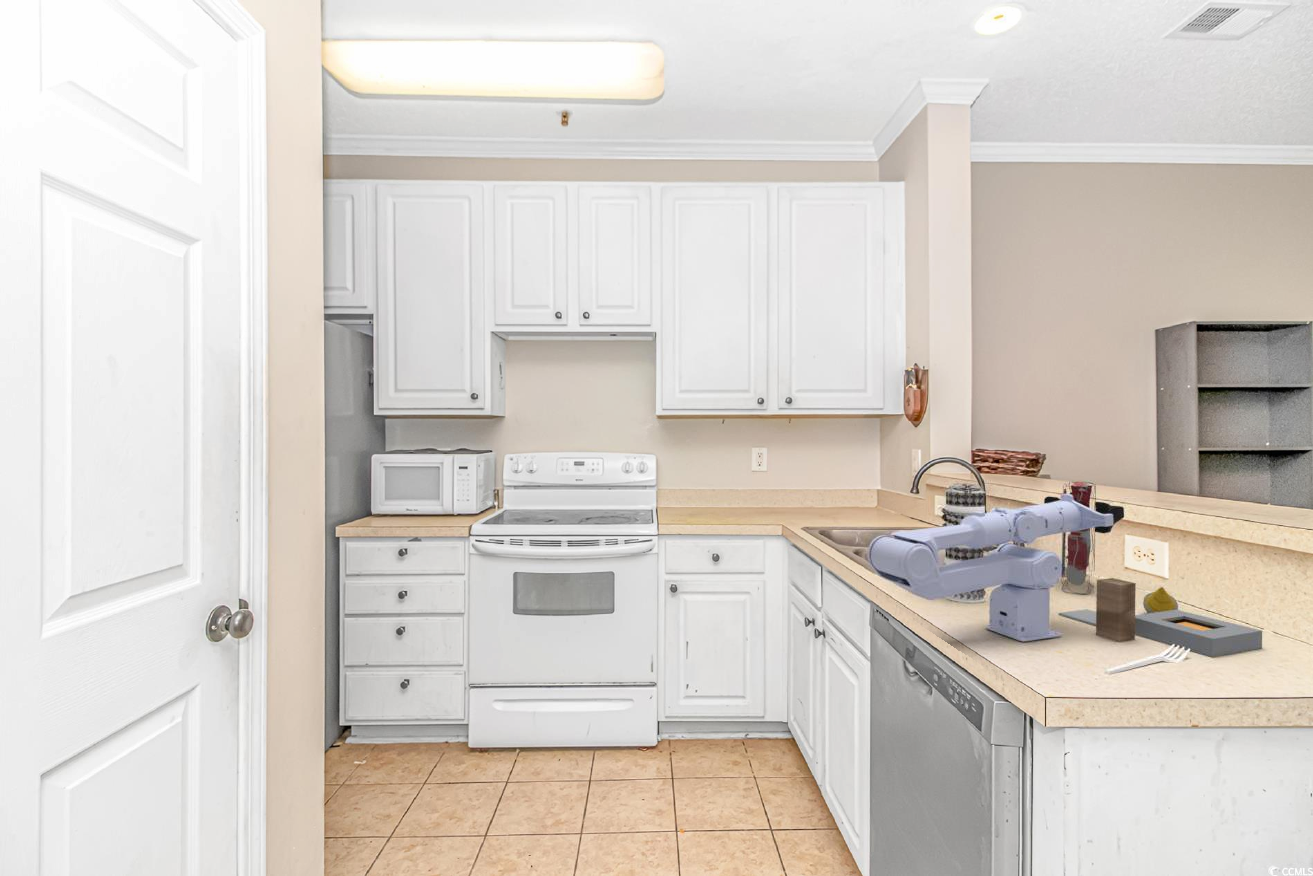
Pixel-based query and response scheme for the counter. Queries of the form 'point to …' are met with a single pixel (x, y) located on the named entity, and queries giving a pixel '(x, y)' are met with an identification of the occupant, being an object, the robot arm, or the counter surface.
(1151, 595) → the drill bit
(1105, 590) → the wooden rectangular post
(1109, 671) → the fork
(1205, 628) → the button
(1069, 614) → the flat gray square panel
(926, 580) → the robot arm
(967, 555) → the decorative candle
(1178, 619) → the gray square frame
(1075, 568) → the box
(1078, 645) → the counter surface
